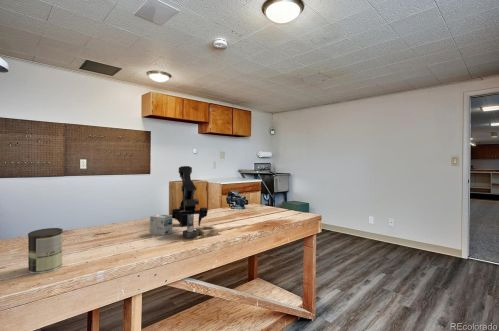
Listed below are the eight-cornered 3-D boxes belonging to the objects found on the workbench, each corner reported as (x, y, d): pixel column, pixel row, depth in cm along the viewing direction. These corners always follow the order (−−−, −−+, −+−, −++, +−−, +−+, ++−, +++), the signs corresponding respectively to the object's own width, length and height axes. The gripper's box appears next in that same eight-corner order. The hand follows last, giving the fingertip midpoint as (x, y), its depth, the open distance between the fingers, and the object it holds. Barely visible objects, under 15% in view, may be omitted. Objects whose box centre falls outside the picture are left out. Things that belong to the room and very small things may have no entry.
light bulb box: (172, 234, 143) (173, 215, 143) (164, 237, 137) (164, 217, 137) (158, 231, 148) (158, 213, 148) (149, 234, 142) (149, 215, 141)
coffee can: (20, 274, 91) (20, 235, 91) (41, 263, 101) (41, 227, 101) (51, 273, 92) (51, 235, 92) (68, 262, 102) (68, 227, 102)
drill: (186, 238, 133) (186, 215, 133) (187, 236, 136) (187, 213, 136) (193, 237, 133) (193, 215, 133) (194, 235, 137) (194, 213, 136)
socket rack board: (185, 244, 126) (185, 236, 126) (174, 238, 136) (175, 230, 135) (221, 236, 141) (222, 229, 140) (210, 231, 150) (210, 224, 150)
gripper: (172, 193, 135) (172, 219, 125) (207, 192, 141) (210, 216, 131) (171, 205, 143) (172, 230, 132) (204, 204, 149) (207, 228, 139)
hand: (190, 226), depth 133 cm, fingers open, 8 cm apart
